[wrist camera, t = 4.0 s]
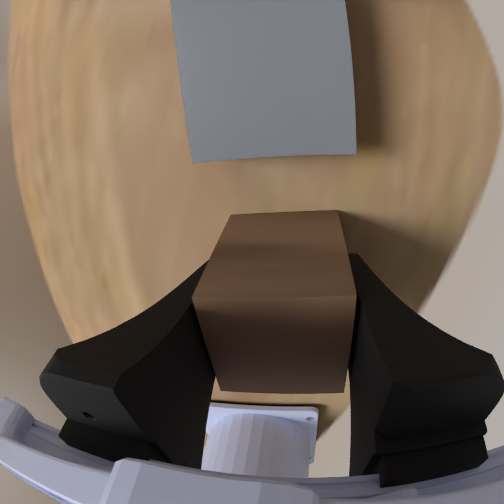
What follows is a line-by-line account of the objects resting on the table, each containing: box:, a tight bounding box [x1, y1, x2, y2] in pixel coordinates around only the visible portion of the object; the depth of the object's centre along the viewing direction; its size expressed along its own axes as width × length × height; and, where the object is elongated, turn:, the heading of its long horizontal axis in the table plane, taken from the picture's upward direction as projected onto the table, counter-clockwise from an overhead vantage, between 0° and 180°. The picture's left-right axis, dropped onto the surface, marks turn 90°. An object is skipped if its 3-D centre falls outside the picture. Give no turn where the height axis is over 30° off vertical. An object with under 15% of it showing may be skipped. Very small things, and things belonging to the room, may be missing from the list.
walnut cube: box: [192, 210, 357, 394], centre depth 11 cm, size 4×4×5 cm
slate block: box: [171, 0, 356, 163], centre depth 8 cm, size 7×5×2 cm
